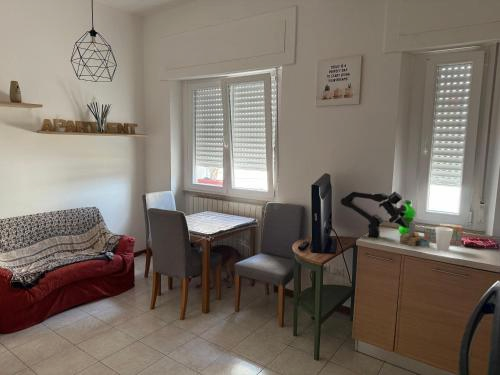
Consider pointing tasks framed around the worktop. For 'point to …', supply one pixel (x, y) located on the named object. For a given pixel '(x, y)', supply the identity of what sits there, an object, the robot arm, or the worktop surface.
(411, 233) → the pusher
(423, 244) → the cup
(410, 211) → the plastic bottle
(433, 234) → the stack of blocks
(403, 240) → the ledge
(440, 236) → the foam cup
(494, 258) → the worktop surface
